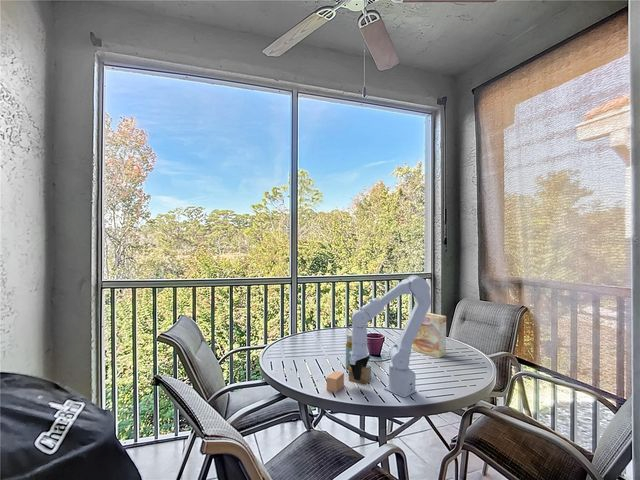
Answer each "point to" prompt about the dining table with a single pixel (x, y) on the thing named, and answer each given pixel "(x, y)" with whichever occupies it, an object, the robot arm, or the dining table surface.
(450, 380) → the dining table surface
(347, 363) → the bottle
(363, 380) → the walnut brick
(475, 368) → the dining table surface
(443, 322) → the coffeecake box
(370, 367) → the slate brick
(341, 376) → the terracotta brick
